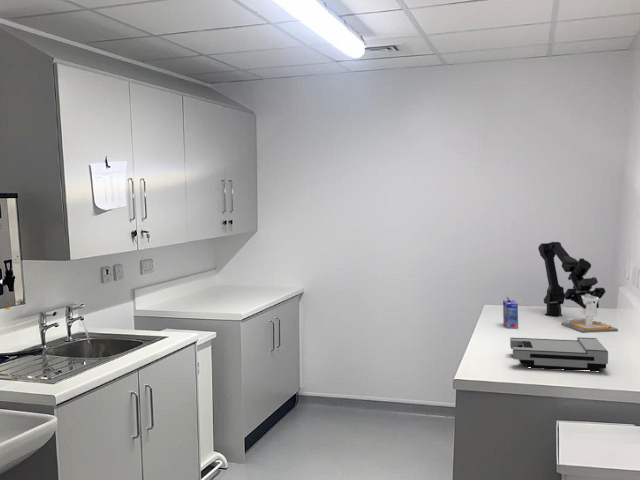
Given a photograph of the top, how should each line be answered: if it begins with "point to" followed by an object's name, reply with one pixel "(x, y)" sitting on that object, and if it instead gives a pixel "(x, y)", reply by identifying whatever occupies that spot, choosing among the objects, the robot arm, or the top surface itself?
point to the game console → (560, 353)
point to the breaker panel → (580, 326)
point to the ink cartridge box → (510, 313)
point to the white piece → (589, 308)
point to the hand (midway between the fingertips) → (591, 307)
